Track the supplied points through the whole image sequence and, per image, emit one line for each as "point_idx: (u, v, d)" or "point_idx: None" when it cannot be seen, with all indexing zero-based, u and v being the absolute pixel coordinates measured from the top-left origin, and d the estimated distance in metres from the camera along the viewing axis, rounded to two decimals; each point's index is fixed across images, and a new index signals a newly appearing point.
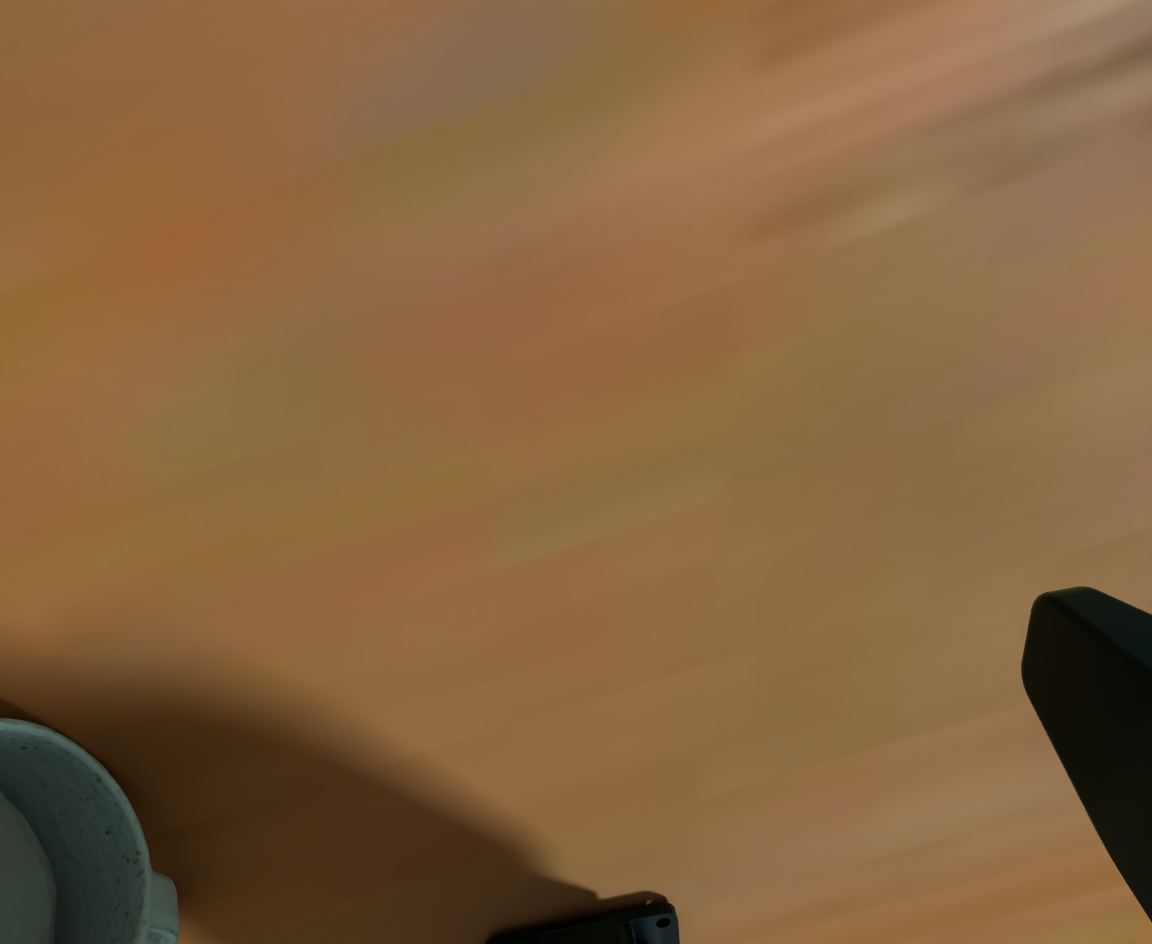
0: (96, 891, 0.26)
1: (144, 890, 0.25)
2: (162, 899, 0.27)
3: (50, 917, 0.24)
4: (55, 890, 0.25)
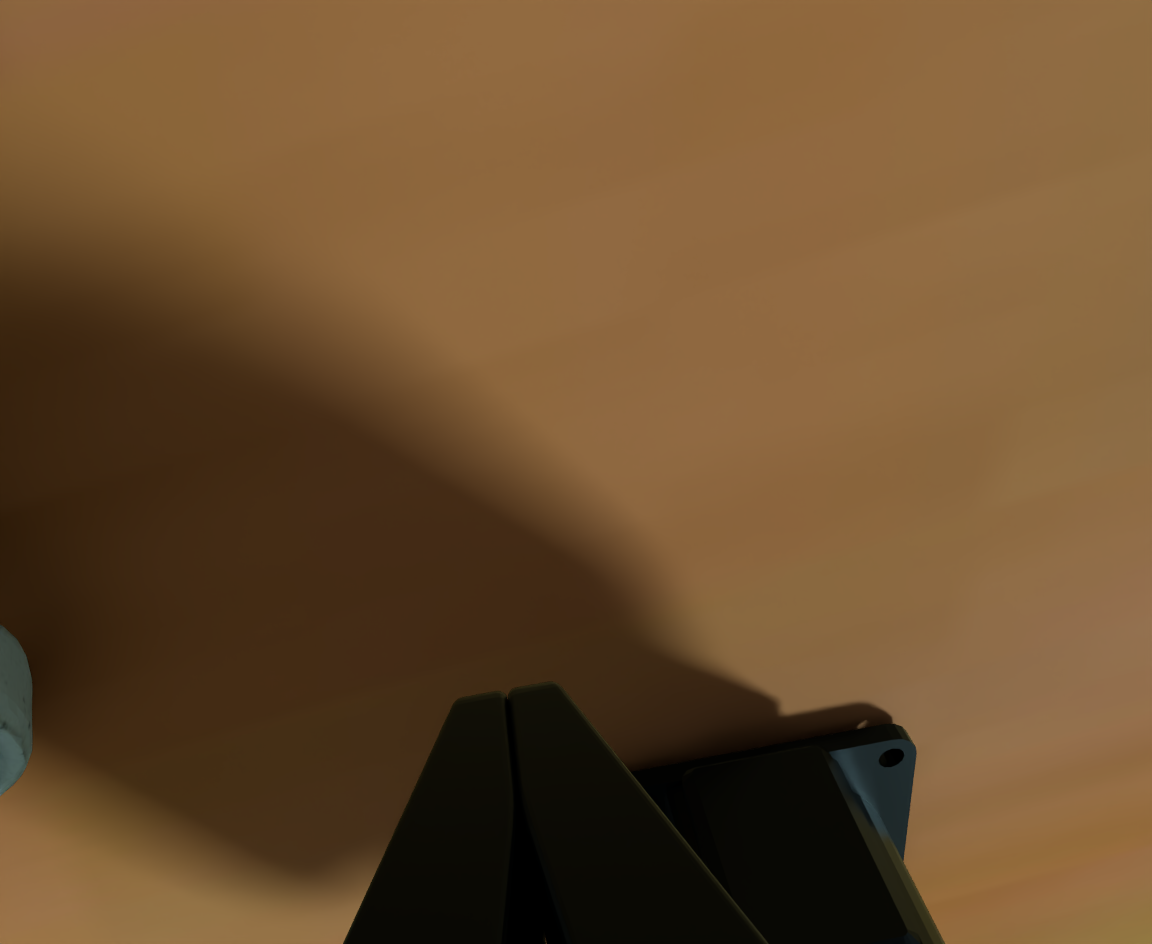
0: None
1: None
2: None
3: None
4: None
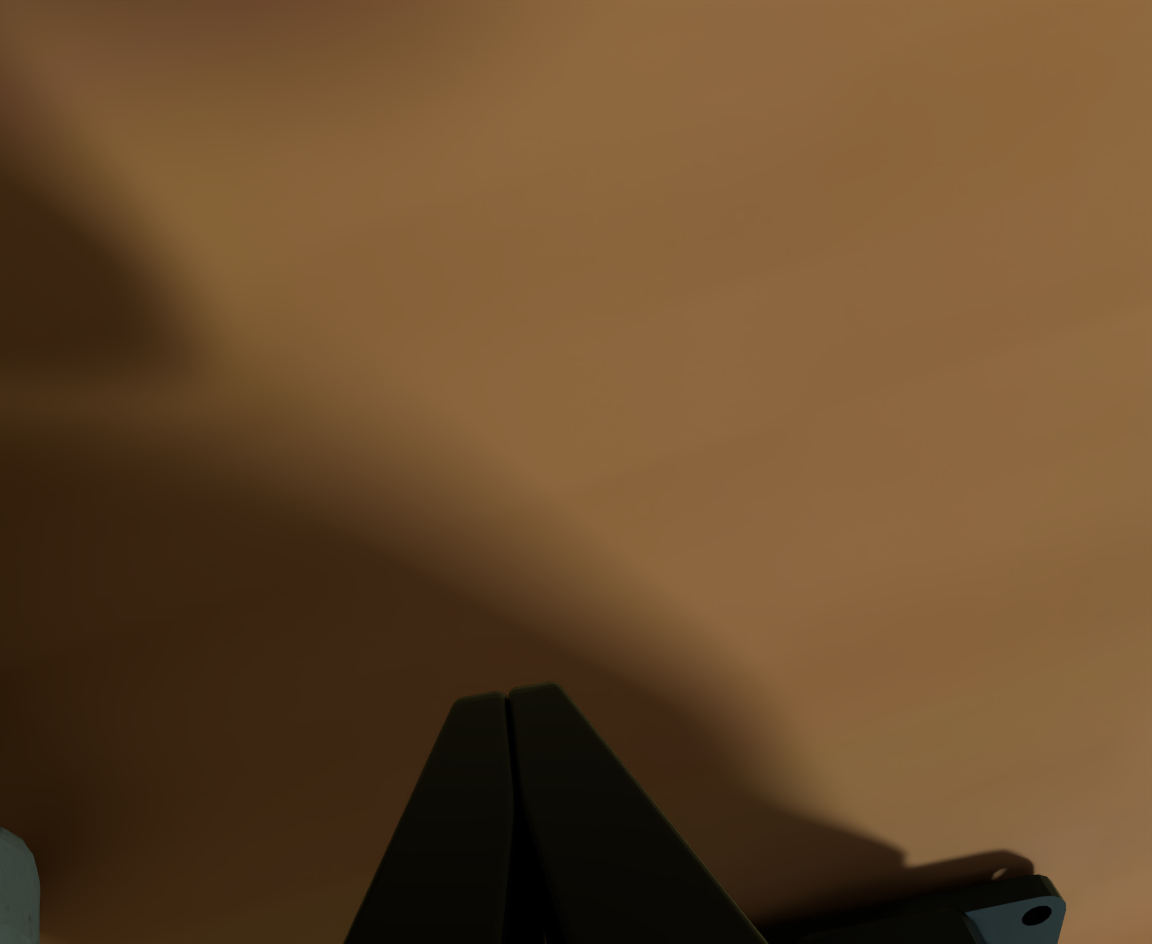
0: None
1: None
2: None
3: None
4: None
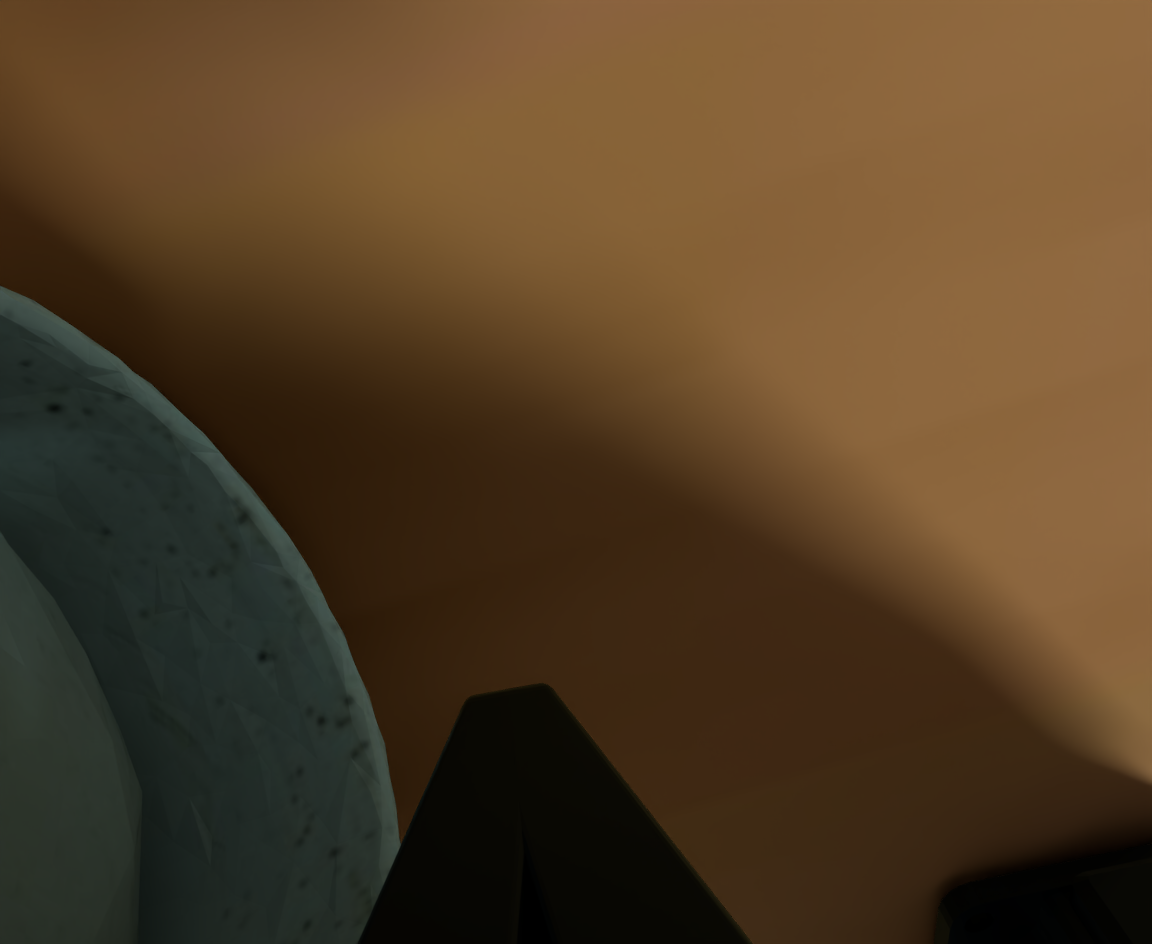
0: (238, 803, 0.10)
1: (376, 792, 0.09)
2: None
3: (132, 859, 0.09)
4: (139, 793, 0.09)
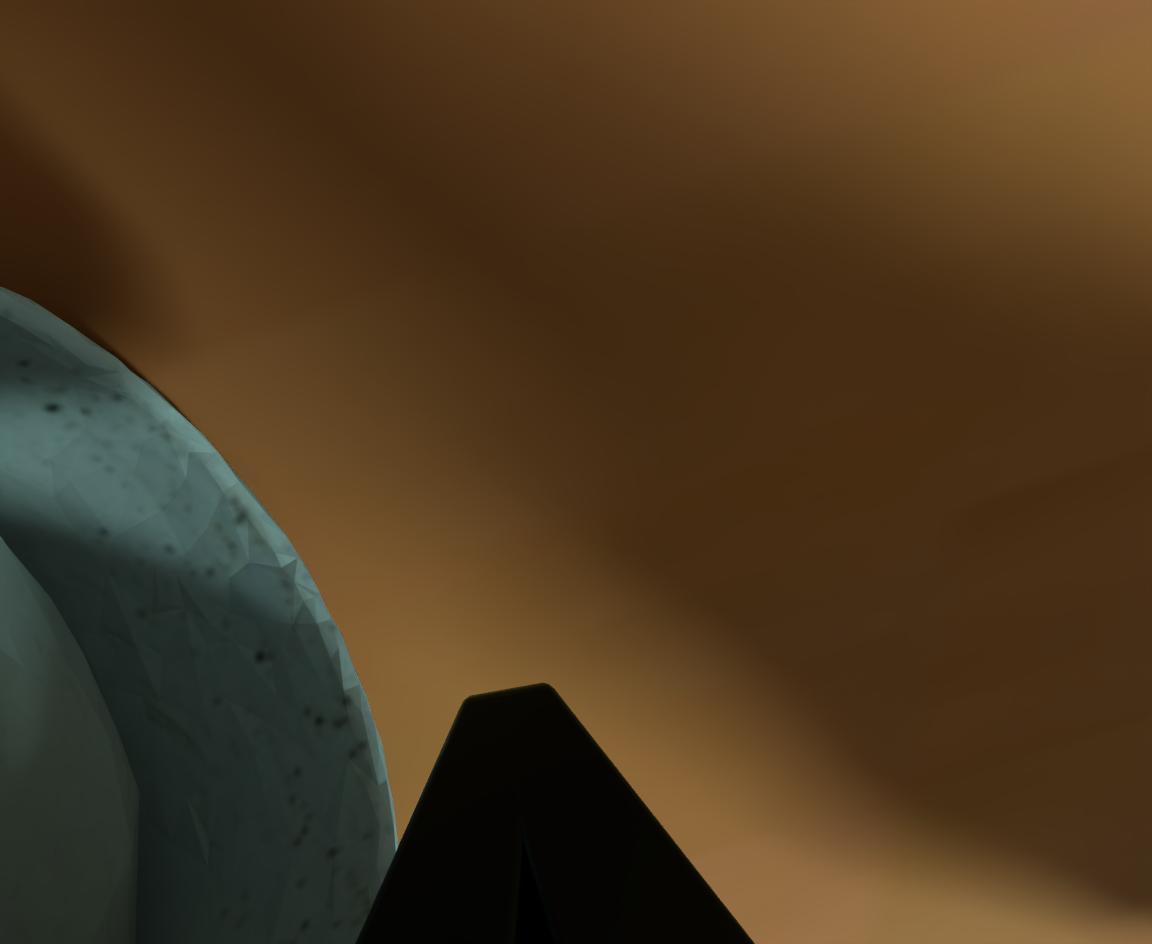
0: (235, 803, 0.10)
1: (373, 792, 0.09)
2: None
3: (130, 859, 0.09)
4: (136, 793, 0.09)
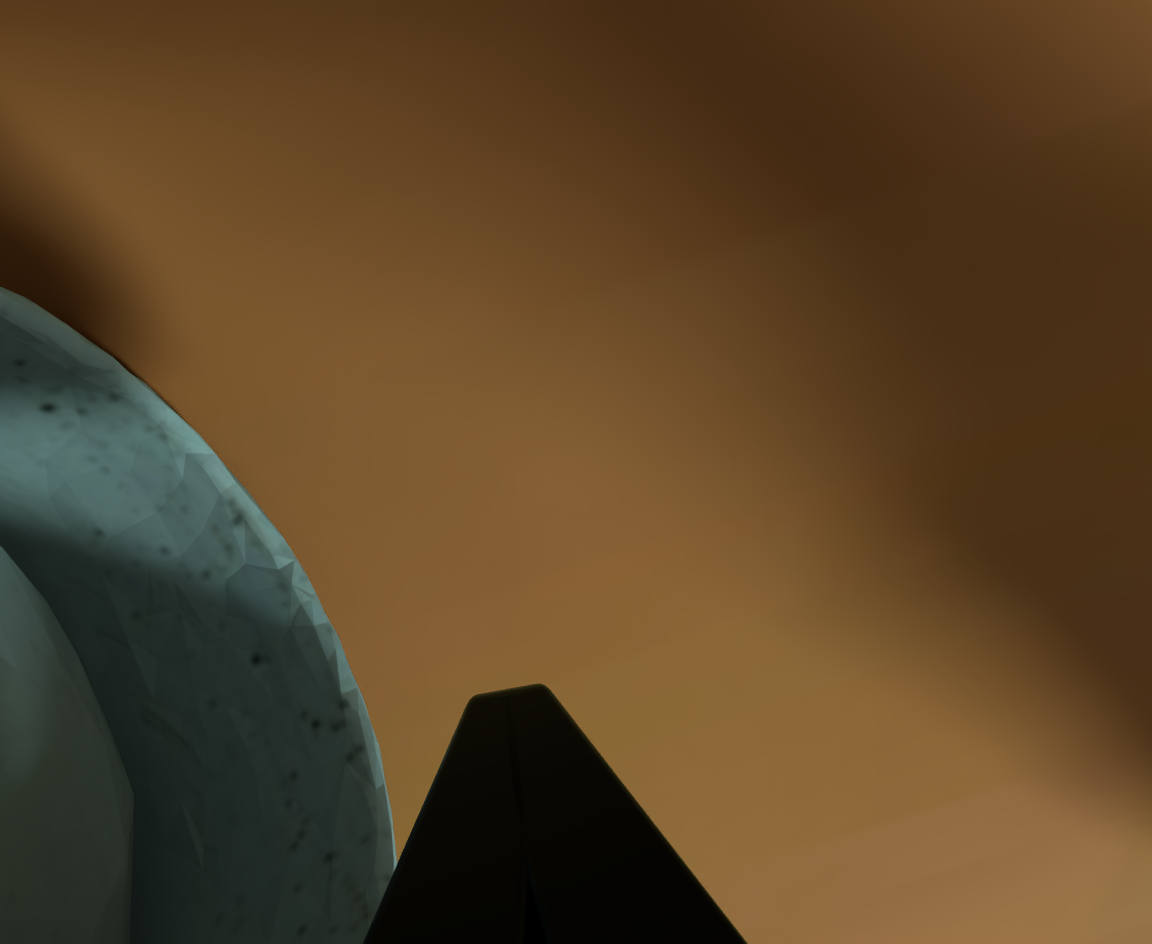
0: (231, 806, 0.10)
1: (371, 796, 0.09)
2: None
3: (125, 864, 0.09)
4: (131, 797, 0.09)
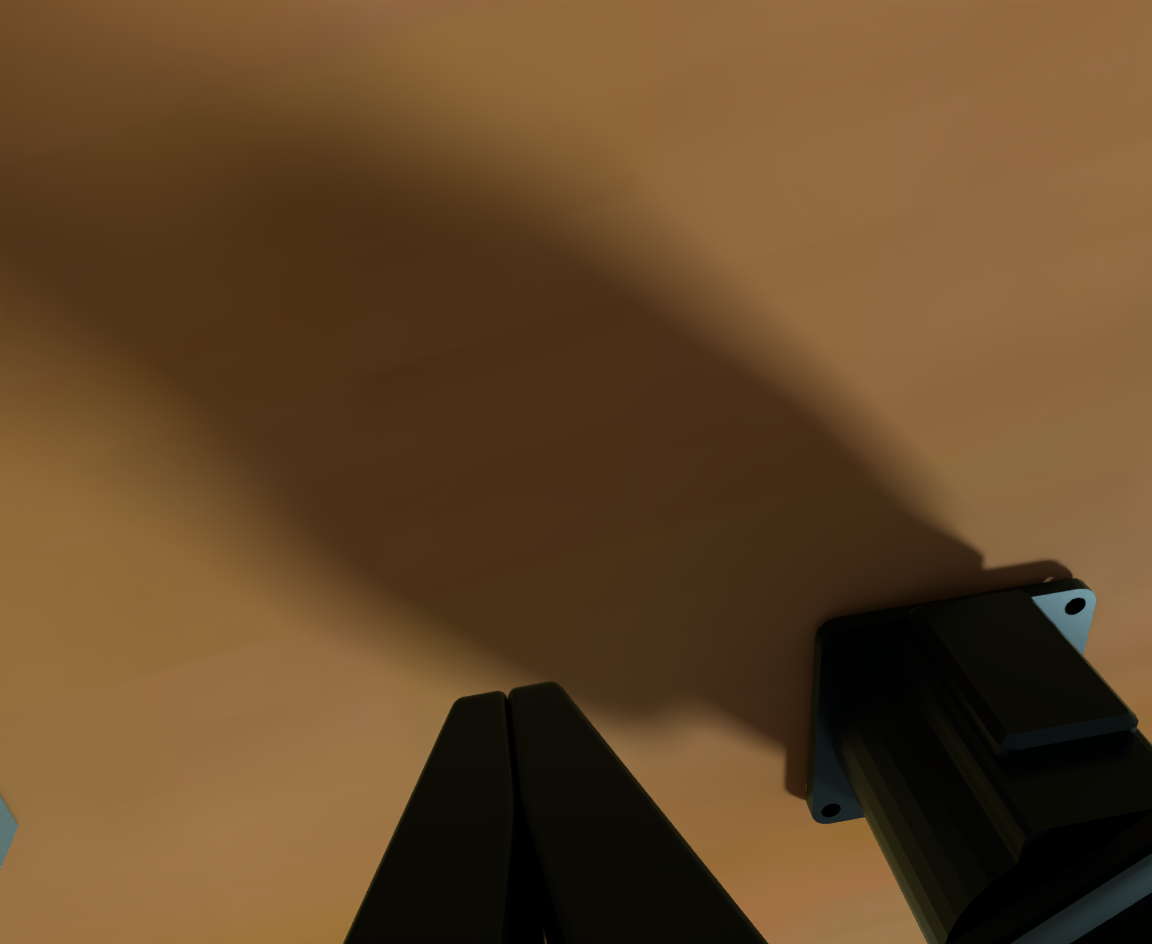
0: None
1: None
2: None
3: None
4: None
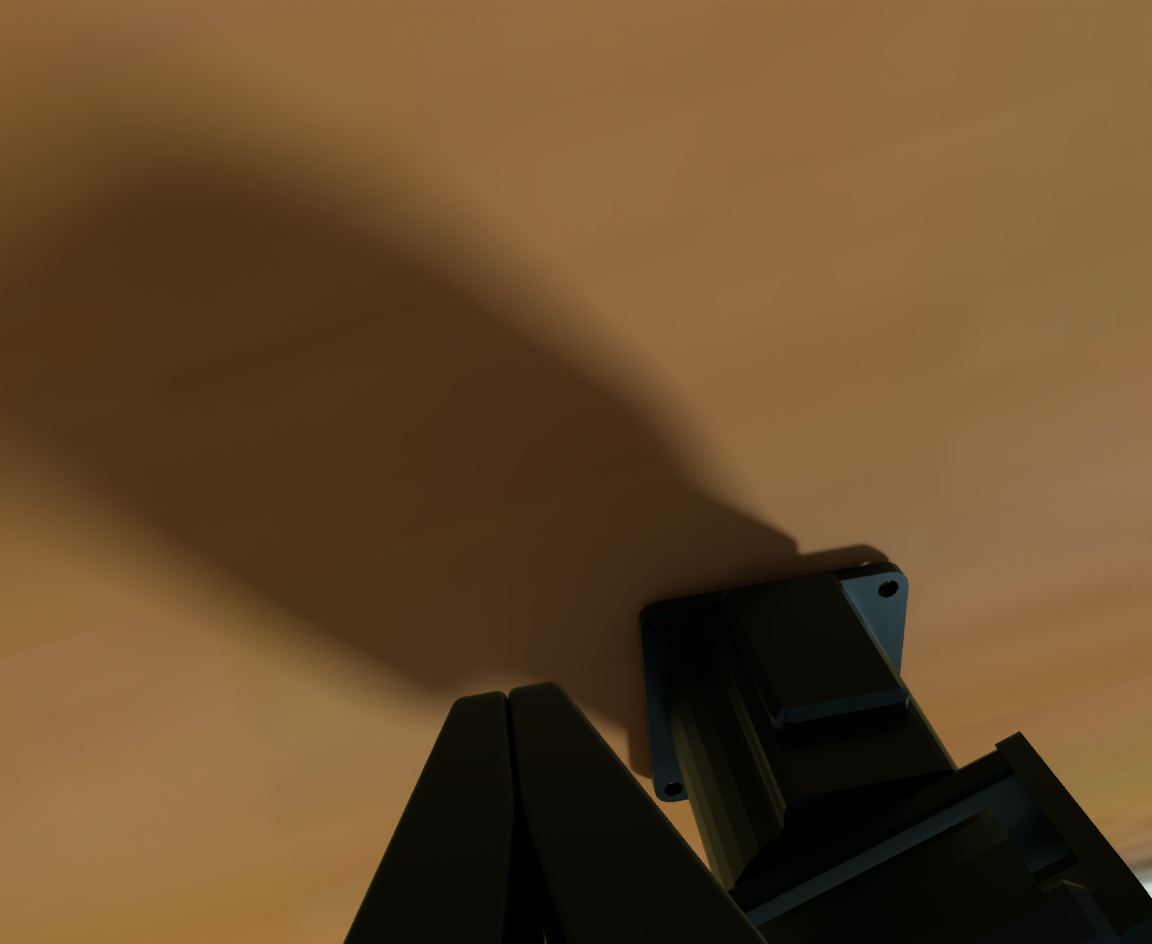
0: None
1: None
2: None
3: None
4: None
